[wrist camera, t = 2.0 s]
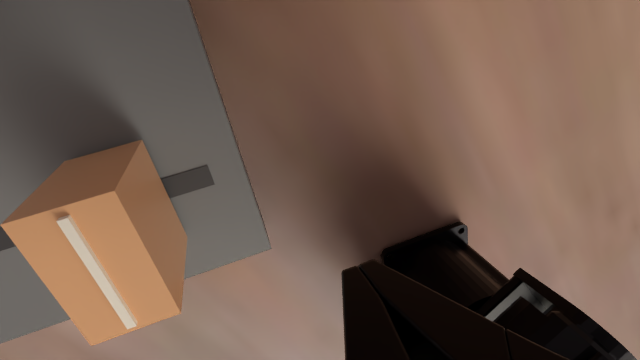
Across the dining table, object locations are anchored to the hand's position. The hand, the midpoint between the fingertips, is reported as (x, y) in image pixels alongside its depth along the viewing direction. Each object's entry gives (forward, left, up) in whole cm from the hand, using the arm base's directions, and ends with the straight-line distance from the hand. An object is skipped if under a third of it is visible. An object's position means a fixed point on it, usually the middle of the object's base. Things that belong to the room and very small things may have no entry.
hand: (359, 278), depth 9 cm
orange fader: (+7, 0, -9) cm, 11 cm away
